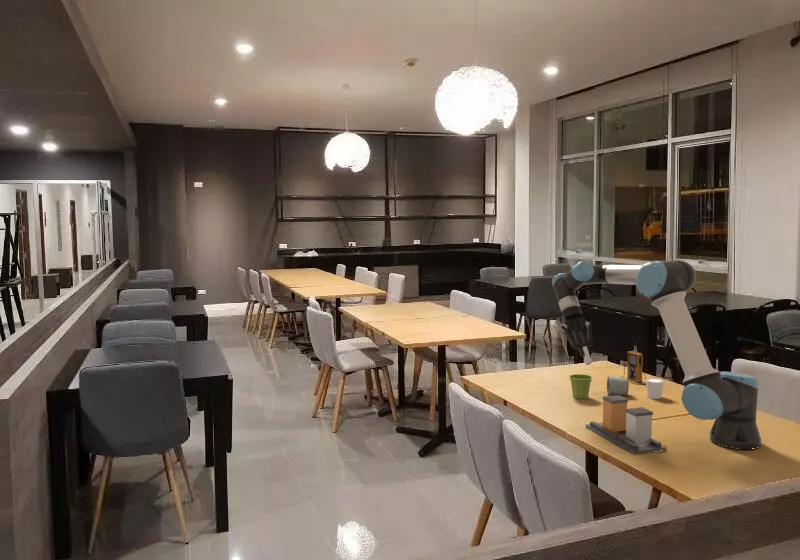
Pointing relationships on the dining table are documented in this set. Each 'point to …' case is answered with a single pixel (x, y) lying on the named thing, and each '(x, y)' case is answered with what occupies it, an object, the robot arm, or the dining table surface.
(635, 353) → the multimeter
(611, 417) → the orange tall block
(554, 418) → the dining table surface
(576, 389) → the plant pot
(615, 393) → the ceramic mug
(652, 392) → the tan white cylinder
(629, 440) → the gray canister tray
